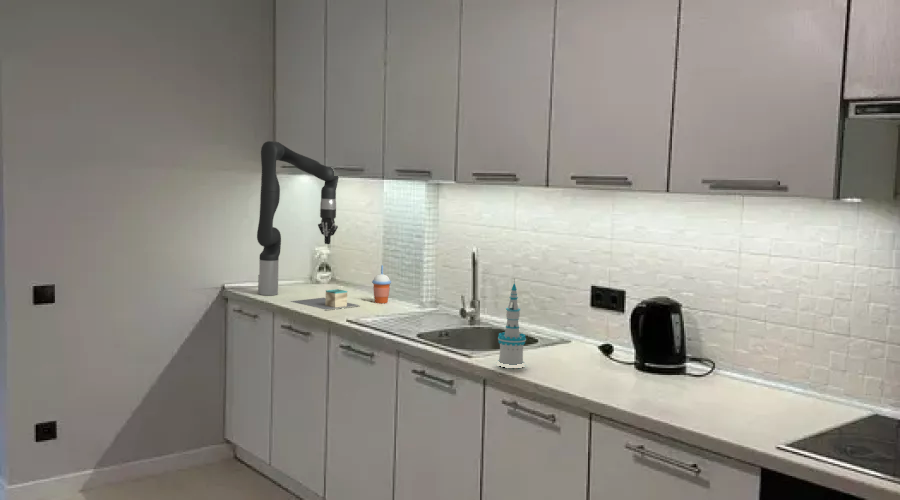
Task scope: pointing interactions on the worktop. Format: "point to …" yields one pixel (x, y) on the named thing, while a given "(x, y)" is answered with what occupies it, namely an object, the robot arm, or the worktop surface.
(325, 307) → the rubber mat
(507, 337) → the model tower
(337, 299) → the birch cube
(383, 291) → the cup with straw
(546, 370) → the worktop surface
